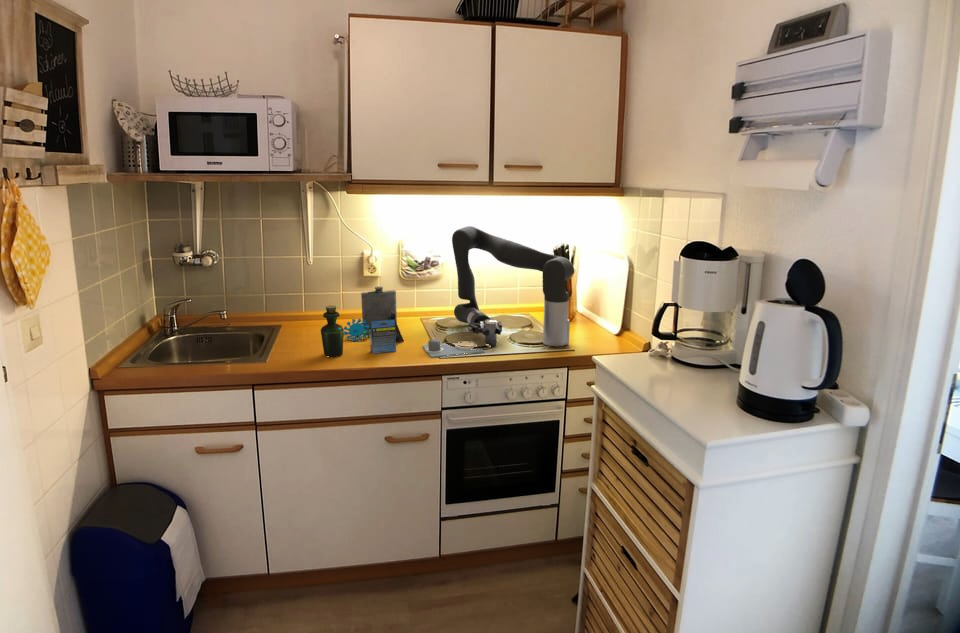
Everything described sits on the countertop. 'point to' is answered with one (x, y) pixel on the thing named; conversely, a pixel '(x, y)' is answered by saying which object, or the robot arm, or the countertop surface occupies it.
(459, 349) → the plate
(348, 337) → the blue virus model
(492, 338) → the steel pin
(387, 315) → the door stopper
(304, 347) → the countertop surface
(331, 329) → the potion bottle
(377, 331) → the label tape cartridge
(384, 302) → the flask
